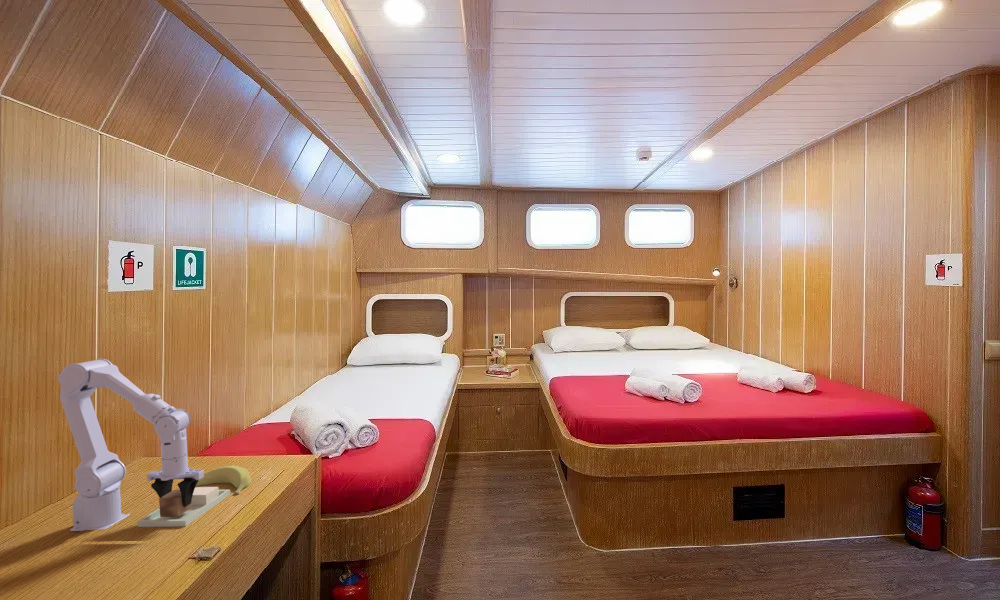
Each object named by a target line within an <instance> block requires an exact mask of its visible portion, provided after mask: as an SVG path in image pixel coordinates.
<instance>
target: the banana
mask: <svg viewBox="0 0 1000 600" xmlns="http://www.w3.org/2000/svg"><path fill="white" fill-rule="evenodd" d="M251 478H252V477H251V476H250V473H249V471H248V469H246V468H245V467H243V466H239V465H227V466H226V465H225V466H220V467H217V468H214V469H211V470H208V471H206V472H204V477H203V478H201V479H199V481H198V483H197V485H196V487H200V486H204V485H210V484H211V485H212V484H223V483H224V484H230V485H233V486H234V488H236V490H235V491H234V492H233V495H234V496H235V495H240V494H241V491H242V490H243V489H245V488H247V487H248V486H250V484H251V482H252V479H251Z"/></svg>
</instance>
